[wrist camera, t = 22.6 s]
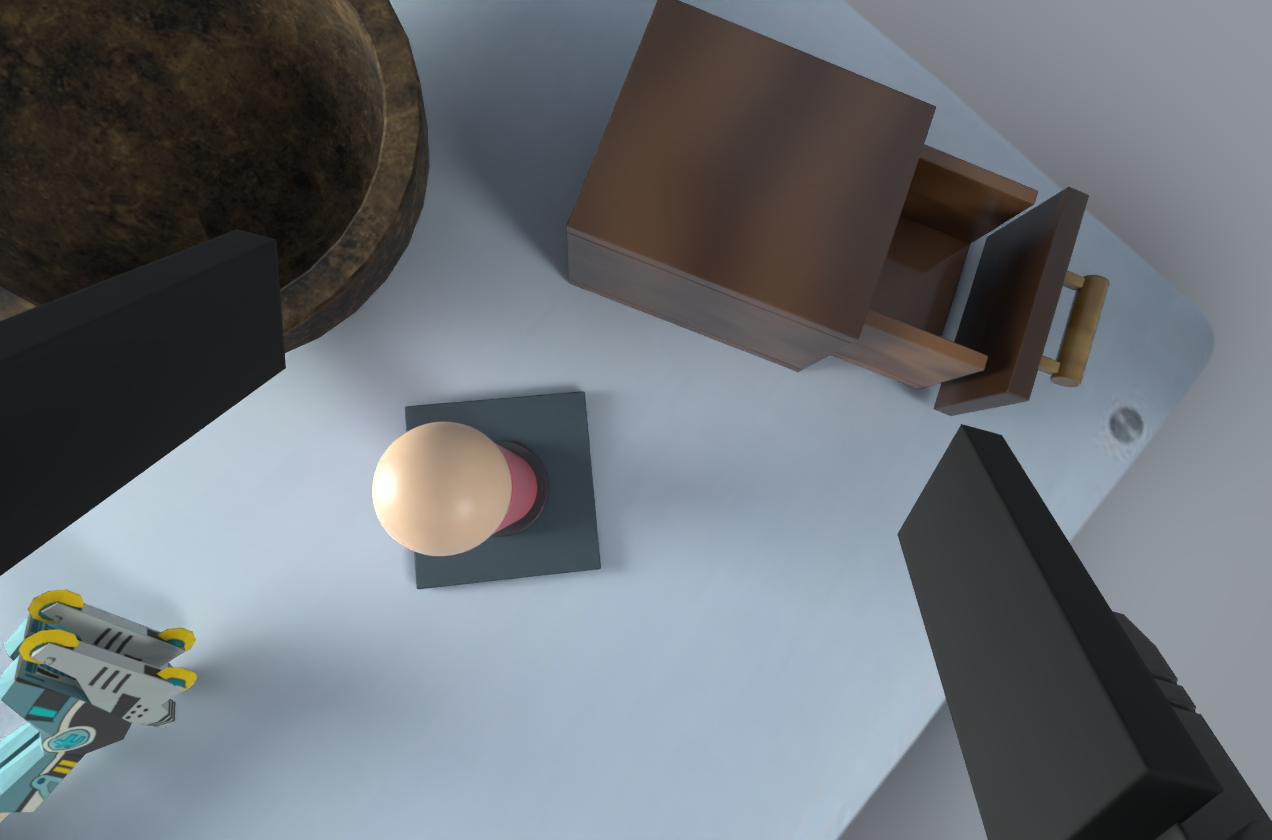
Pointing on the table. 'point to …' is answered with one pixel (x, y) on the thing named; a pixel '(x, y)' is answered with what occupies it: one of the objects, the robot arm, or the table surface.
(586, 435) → the mat
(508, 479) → the ball-topped pink peg
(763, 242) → the cabinet
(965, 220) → the drawer
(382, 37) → the bowl
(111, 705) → the figurine
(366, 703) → the table surface
